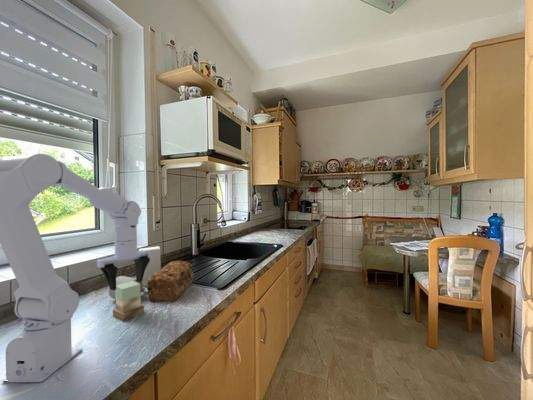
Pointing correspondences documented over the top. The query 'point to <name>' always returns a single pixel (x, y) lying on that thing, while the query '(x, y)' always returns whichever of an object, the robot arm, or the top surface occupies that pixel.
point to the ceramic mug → (124, 280)
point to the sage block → (127, 290)
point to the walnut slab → (128, 313)
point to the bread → (170, 281)
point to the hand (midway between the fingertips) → (126, 285)
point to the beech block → (128, 304)
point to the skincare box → (152, 263)
